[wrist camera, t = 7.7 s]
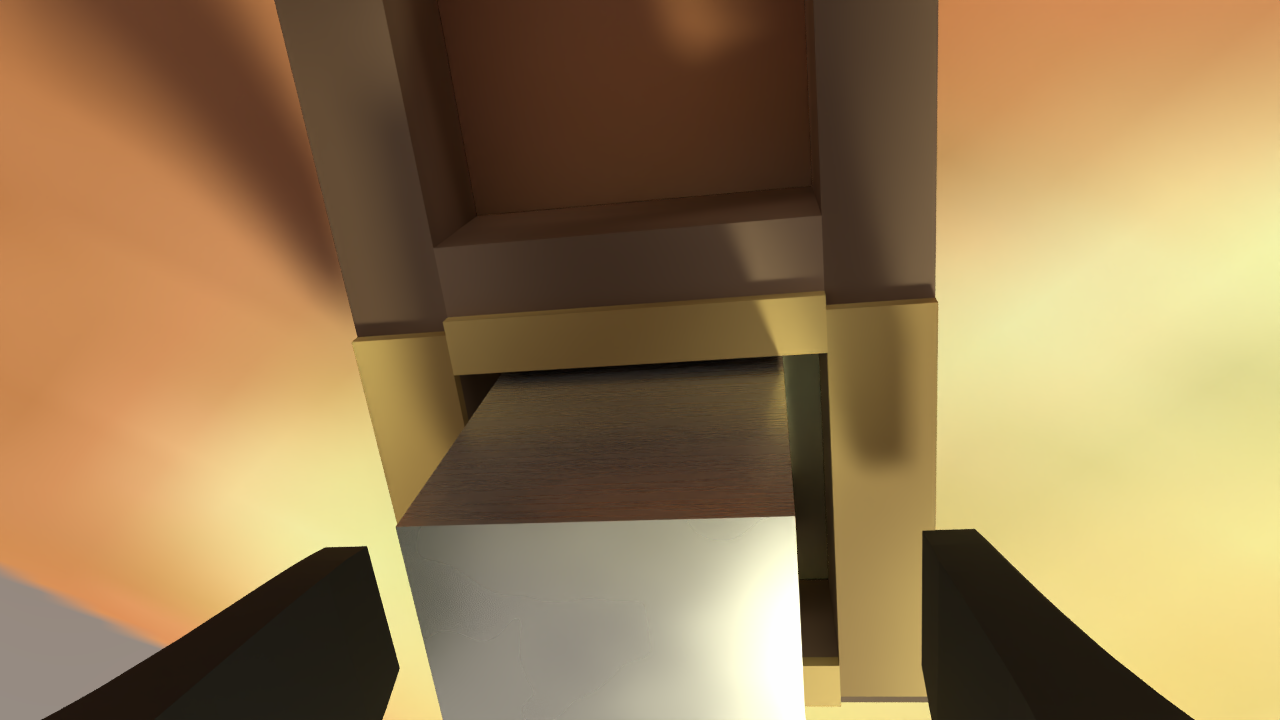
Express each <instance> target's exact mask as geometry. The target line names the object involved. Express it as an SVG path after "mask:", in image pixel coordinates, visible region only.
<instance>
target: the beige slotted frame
mask: <svg viewBox="0 0 1280 720" xmlns="http://www.w3.org/2000/svg"><path fill="white" fill-rule="evenodd" d="M274 1H275V5H276V9H277V13H278V17H279V21H280V25H281V29H282V33H283V37H284V41H285V45H286V49H287V53H288V58H289V62H290V66H291V70H292V74H293V78H294V82H295V86H296V90H297V94H298V98H299V102H300V106H301V110H302V114H303V118H304V122H305V126H306V130H307V134H308V138H309V142H310V146H311V150H312V155H313V159H314V163H315V167H316V171H317V175H318V179H319V183H320V187H321V191H322V195H323V199H324V203H325V207H326V211H327V215H328V219H329V223H330V227H331V231H332V235H333V239H334V243H335V248H336V252H337V256H338V260H339V264H340V268H341V272H342V276H343V280H344V284H345V288H346V292H347V296H348V300H349V304H350V308H351V312H352V316H353V320H354V324H355V328H356V332H357V336H358V337H357V338H356V339H355V340H354V341H353V342H352V345H353V349H354V353H355V357H356V361H357V365H358V369H359V373H360V377H361V381H362V385H363V389H364V393H365V397H366V401H367V405H368V409H369V413H370V417H371V421H372V425H373V429H374V433H375V437H376V441H377V445H378V449H379V453H380V457H381V461H382V465H383V469H384V473H385V477H386V481H387V485H388V489H389V493H390V497H391V501H392V505H393V509H394V513H395V517H396V521H397V524H398V523H399V521H400V520H401V518H402V517H403V515H404V514H405V513H406V511H407V510H408V508H409V507H410V505H411V504H412V502H413V501H414V500H415V498H416V497H417V495H418V494H419V492H420V491H421V489H422V488H423V487H424V485H425V484H426V482H427V481H428V479H429V478H430V476H431V475H432V474H433V472H434V471H435V469H436V468H437V466H438V465H439V463H440V462H441V461H442V459H443V458H444V456H445V455H446V453H447V452H448V450H449V449H450V448H451V446H452V445H453V443H454V442H455V440H456V439H457V437H458V436H459V435H460V433H461V432H462V430H463V429H464V427H465V426H466V424H467V423H468V422H469V420H470V419H471V417H472V416H473V414H474V413H475V411H476V410H477V409H478V407H479V406H480V404H481V403H482V401H483V400H484V398H485V397H486V396H487V394H488V393H489V391H490V390H491V388H492V387H493V385H494V384H495V383H496V381H497V380H498V378H499V377H500V375H501V374H502V372H518V371H535V370H551V369H568V368H585V367H601V366H618V365H634V364H651V363H668V362H684V361H701V360H717V359H734V358H751V357H767V356H784V355H801V354H817V353H819V366H820V390H821V414H822V439H823V463H824V487H825V511H826V535H827V559H828V579H822V580H798V584H799V604H800V624H801V644H802V665H803V685H804V705H805V706H841V702H928V698H927V693H926V687H925V682H924V677H923V671H922V666H921V661H922V531H925V530H935V525H936V441H937V357H938V301H937V300H936V298H935V263H936V168H937V73H938V0H804V5H805V29H806V53H807V77H808V101H809V125H810V149H811V174H812V186H805V187H794V188H783V189H772V190H761V191H750V192H739V193H727V194H716V195H705V196H694V197H683V198H672V199H661V200H650V201H638V202H627V203H616V204H605V205H594V206H583V207H572V208H561V209H549V210H538V211H527V212H516V213H505V214H494V215H483V216H477V215H476V210H475V204H474V199H473V193H472V188H471V182H470V177H469V172H468V166H467V161H466V155H465V150H464V144H463V139H462V134H461V128H460V123H459V117H458V112H457V106H456V101H455V96H454V90H453V85H452V79H451V74H450V68H449V63H448V58H447V52H446V47H445V41H444V36H443V30H442V25H441V20H440V14H439V9H438V3H437V0H274Z"/></svg>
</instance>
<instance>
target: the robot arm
mask: <svg viewBox="0 0 1280 720" xmlns="http://www.w3.org/2000/svg"><path fill="white" fill-rule="evenodd" d="M921 666H922V671H923V677H924V682H925V687H926V693H927V698H928V703H929V709H930V714H931V719H932V720H1194V719H1193V718H1191V717H1190V716H1189V715H1187V714H1186V713H1185V712H1183V711H1182V710H1180V709H1179V708H1178V707H1176V706H1175V705H1174V704H1172V703H1171V702H1170V701H1168V700H1167V699H1165V698H1164V697H1163V696H1162V695H1160V694H1159V693H1158V692H1156V691H1155V690H1154V689H1153V688H1151V687H1150V686H1149V685H1147V684H1146V683H1145V682H1144V681H1142V680H1141V679H1140V678H1139V677H1137V676H1136V675H1135V674H1134V673H1132V672H1131V671H1130V670H1129V669H1127V668H1126V667H1125V666H1123V665H1122V664H1121V663H1120V662H1118V661H1117V660H1116V659H1115V658H1113V657H1112V656H1111V655H1110V654H1109V653H1107V652H1106V651H1105V650H1104V649H1103V648H1102V647H1100V646H1099V645H1098V644H1097V643H1096V642H1095V641H1094V640H1092V639H1091V638H1090V637H1089V636H1088V635H1087V634H1086V633H1085V632H1083V631H1082V630H1081V629H1080V628H1079V627H1078V626H1077V625H1076V624H1074V623H1073V622H1072V621H1071V620H1070V619H1069V618H1068V617H1067V616H1065V615H1064V614H1063V613H1062V612H1061V611H1060V610H1059V609H1058V608H1057V607H1056V606H1054V605H1053V604H1052V603H1051V602H1050V601H1049V600H1048V599H1047V598H1046V597H1045V596H1044V595H1043V594H1042V593H1041V592H1039V591H1038V590H1037V589H1036V588H1035V587H1034V586H1033V585H1032V584H1031V583H1030V582H1029V581H1028V580H1027V579H1026V578H1025V577H1024V576H1023V575H1022V574H1021V573H1020V572H1019V571H1018V570H1017V569H1016V568H1015V567H1014V566H1013V565H1012V564H1011V563H1010V562H1009V561H1008V560H1006V559H1005V558H1004V557H1003V556H1002V555H1001V554H1000V553H999V552H998V551H997V550H996V549H995V548H994V547H993V546H992V545H991V544H990V543H989V542H988V541H987V540H986V539H985V538H984V537H983V536H982V535H981V534H980V533H979V532H977V531H976V530H975V529H960V530H925V531H922V661H921ZM399 669H400V668H399V664H398V660H397V657H396V653H395V649H394V645H393V642H392V638H391V634H390V630H389V627H388V623H387V619H386V616H385V612H384V608H383V604H382V601H381V597H380V593H379V589H378V586H377V582H376V578H375V575H374V571H373V567H372V563H371V560H370V556H369V552H368V548H367V546H362V547H327V548H323V549H321V550H319V551H318V552H316V553H314V554H312V555H310V556H308V557H306V558H305V559H303V560H301V561H300V562H298V563H296V564H295V565H293V566H291V567H290V568H288V569H287V570H285V571H283V572H282V573H280V574H279V575H277V576H275V577H274V578H272V579H271V580H269V581H268V582H266V583H265V584H263V585H261V586H260V587H258V588H257V589H255V590H254V591H252V592H251V593H249V594H248V595H246V596H245V597H243V598H242V599H240V600H238V601H237V602H235V603H234V604H232V605H231V606H229V607H228V608H226V609H225V610H223V611H222V612H220V613H219V614H217V615H215V616H214V617H212V618H211V619H209V620H208V621H206V622H205V623H203V624H202V625H200V626H199V627H197V628H195V629H194V630H192V631H191V632H189V633H188V634H186V635H185V636H183V637H182V638H180V639H178V640H177V641H175V642H173V643H172V644H170V645H169V646H167V647H165V648H164V649H162V650H160V651H159V652H157V653H155V654H154V655H152V656H151V657H149V658H147V659H146V660H144V661H143V662H141V663H139V664H137V665H136V666H134V667H133V668H131V669H129V670H128V671H126V672H124V673H123V674H121V675H120V676H118V677H116V678H115V679H113V680H111V681H110V682H108V683H106V684H105V685H103V686H101V687H100V688H98V689H96V690H94V691H93V692H91V693H89V694H87V695H86V696H84V697H82V698H80V699H79V700H77V701H75V702H73V703H71V704H70V705H68V706H66V707H64V708H63V709H61V710H59V711H57V712H55V713H53V714H51V715H49V716H48V717H46V718H44V719H42V720H382V719H383V716H384V713H385V711H386V708H387V705H388V702H389V699H390V696H391V693H392V690H393V687H394V684H395V681H396V678H397V675H398V672H399Z"/></svg>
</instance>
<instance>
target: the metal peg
mask: <svg viewBox="0 0 1280 720" xmlns="http://www.w3.org/2000/svg"><path fill="white" fill-rule="evenodd" d="M396 530H397V535H398V539H399V543H400V547H401V551H402V555H403V559H404V563H405V567H406V571H407V575H408V579H409V583H410V587H411V592H412V596H413V600H414V604H415V608H416V612H417V616H418V620H419V624H420V628H421V632H422V636H423V640H424V644H425V649H426V653H427V657H428V661H429V665H430V669H431V673H432V677H433V681H434V685H435V689H436V693H437V697H438V701H439V706H440V710H441V714H442V718H443V720H805V705H804V685H803V665H802V644H801V624H800V604H799V584H798V563H797V543H796V523H795V508H794V495H793V483H792V470H791V457H790V445H789V432H788V420H787V407H786V395H785V382H784V370H783V357H782V356H767V357H751V358H734V359H717V360H701V361H684V362H668V363H651V364H634V365H618V366H601V367H585V368H568V369H551V370H535V371H518V372H502V374H501V375H500V377H499V378H498V380H497V381H496V383H495V384H494V385H493V387H492V388H491V390H490V391H489V393H488V394H487V396H486V397H485V398H484V400H483V401H482V403H481V404H480V406H479V407H478V409H477V410H476V411H475V413H474V414H473V416H472V417H471V419H470V420H469V422H468V423H467V424H466V426H465V427H464V429H463V430H462V432H461V433H460V435H459V436H458V437H457V439H456V440H455V442H454V443H453V445H452V446H451V448H450V449H449V450H448V452H447V453H446V455H445V456H444V458H443V459H442V461H441V462H440V463H439V465H438V466H437V468H436V469H435V471H434V472H433V474H432V475H431V476H430V478H429V479H428V481H427V482H426V484H425V485H424V487H423V488H422V489H421V491H420V492H419V494H418V495H417V497H416V498H415V500H414V501H413V502H412V504H411V505H410V507H409V508H408V510H407V511H406V513H405V514H404V515H403V517H402V518H401V520H400V521H399V523H398V524H397V526H396Z"/></svg>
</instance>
